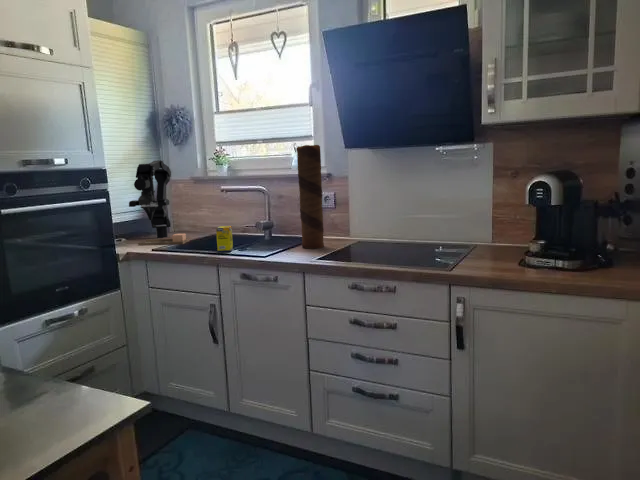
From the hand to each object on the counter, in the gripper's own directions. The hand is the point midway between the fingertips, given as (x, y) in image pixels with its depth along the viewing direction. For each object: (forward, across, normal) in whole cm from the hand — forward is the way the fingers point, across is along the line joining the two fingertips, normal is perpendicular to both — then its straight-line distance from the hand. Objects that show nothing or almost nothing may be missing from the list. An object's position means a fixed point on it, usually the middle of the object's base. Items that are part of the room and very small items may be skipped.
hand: (150, 220), depth 261 cm
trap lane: (+12, +8, -7) cm, 16 cm away
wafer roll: (+12, +83, -28) cm, 88 cm away
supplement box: (+12, +44, -31) cm, 55 cm away
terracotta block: (+11, +16, -7) cm, 20 cm away
